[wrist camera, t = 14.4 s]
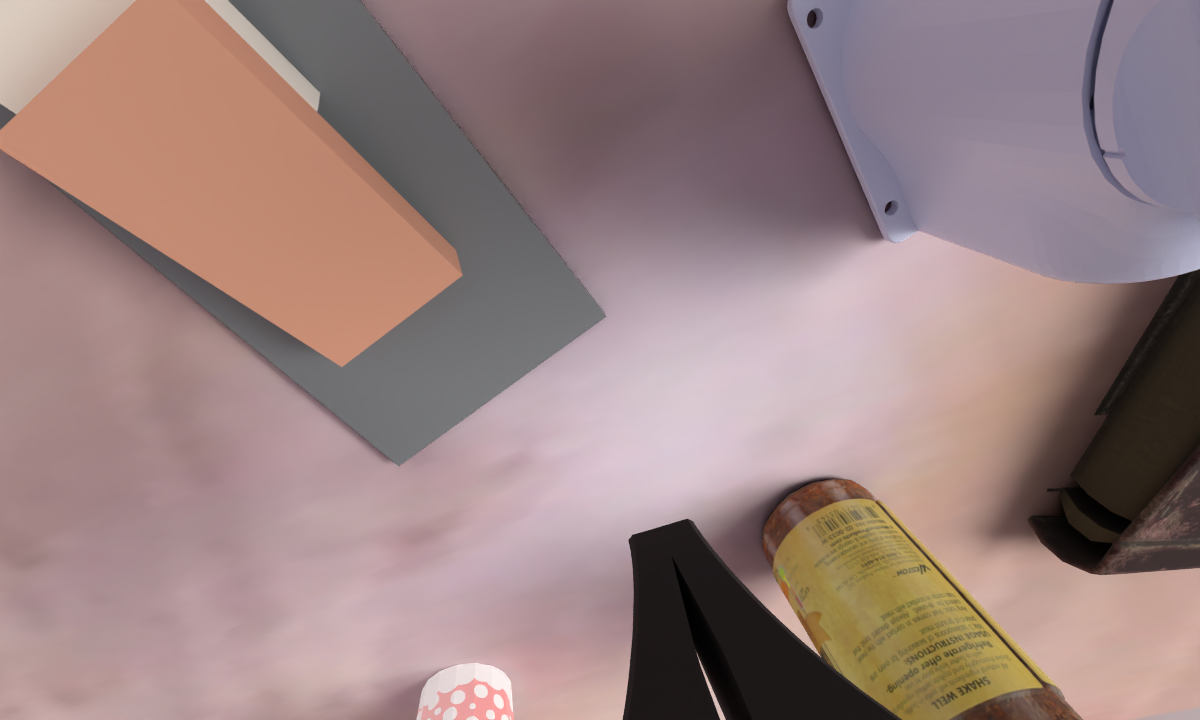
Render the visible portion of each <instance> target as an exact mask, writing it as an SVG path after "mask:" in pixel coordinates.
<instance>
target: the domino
mask: <svg viewBox="0 0 1200 720" xmlns="http://www.w3.org/2000/svg"><path fill="white" fill-rule="evenodd" d="M135 1H136V0H0V104H2V105H3V106H5V107H6V108H8V109H9V110H11V111H12V112H14V113H15V114H18V113H19V112H20V111H21V110H22V109H23V108H24V107H25V106H26V105H27V104H28V103H29V102H30V101H31V100H32V99H33V98H34V97H35V96H37V95H38V94H39V93H40V92H41V91H42V90H43V89H44V88H45V87H46V86H47V85H48V84H49V83H50V82H51V81H52V80H53V79H54V78H55V77H56V76H57V75H58V74H60V73H61V72H62V71H63V70H64V69H65V68H66V67H67V66H68V65H69V64H70V63H71V62H72V61H73V60H74V59H75V58H76V57H77V56H78V55H79V54H80V53H81V52H83V51H84V50H85V49H86V48H87V47H88V46H89V45H90V44H91V43H92V42H93V41H94V40H95V39H96V38H97V37H98V36H99V35H100V34H101V33H102V32H103V31H104V30H105V29H107V28H108V27H109V26H110V25H111V24H112V23H113V22H114V21H115V20H116V19H117V18H118V17H119V16H120V15H121V14H122V13H123V12H124V11H125V10H126V9H127V8H128V7H130V6H131V5H132V4H133V3H134V2H135ZM205 1H206V2H207V3H208V4H209V5H210V6H211V7H212V8H213V9H214V10H215V11H216V12H217V13H218V14H219V15H220V16H221V17H222V18H223V19H224V20H225V21H226V22H227V23H228V24H229V25H230V26H231V27H232V28H233V29H234V30H235V31H236V32H237V33H238V34H239V35H240V36H241V37H242V38H243V39H244V40H245V41H246V42H247V43H248V44H249V45H250V46H251V47H252V48H253V49H254V50H255V51H256V52H257V53H258V54H259V55H260V56H261V57H262V58H263V59H264V60H265V61H266V62H267V63H268V64H269V65H270V66H271V67H272V68H273V69H274V70H275V71H276V72H277V73H278V74H279V75H280V76H281V77H282V78H283V79H284V80H285V81H286V82H287V83H288V84H289V85H290V86H291V87H292V88H293V89H294V90H295V91H296V92H297V93H298V94H299V95H300V96H301V97H302V98H303V99H304V100H305V101H306V102H307V103H308V104H309V105H310V106H311V107H312V108H313V109H314V110H315V111H316V112H317V111H318V105H319V98H320V92H319V91H318V90H317V89H316V88H315V87H314V86H313V85H312V84H311V83H310V82H309V81H308V80H307V79H306V78H305V77H304V76H303V75H302V74H301V73H300V72H299V71H298V70H297V69H296V68H295V67H294V66H293V65H292V64H291V63H290V62H289V61H288V60H287V59H286V58H285V57H284V56H283V55H282V54H281V53H280V52H279V51H278V50H277V49H276V48H275V47H274V46H273V45H272V44H271V43H270V42H269V41H268V40H267V39H266V38H265V37H264V36H263V35H262V34H261V33H260V32H259V31H258V30H257V29H256V28H255V27H254V26H253V25H252V24H251V23H250V22H249V21H248V20H247V19H246V18H245V17H244V16H243V15H242V14H241V13H240V12H239V11H238V10H237V9H236V8H235V7H234V6H233V5H232V4H231V3H230V2H229V1H228V0H205Z"/></svg>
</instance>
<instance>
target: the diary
mask: <svg viewBox="0 0 1200 720" xmlns="http://www.w3.org/2000/svg"><path fill="white" fill-rule="evenodd" d="M1105 414H1109V415H1108V417H1107V418H1106V420H1105V421H1104V423H1103V425H1102V426H1101V428H1100V429H1099V431H1098V433H1097V434H1096V436H1095V437H1094V439H1093V440H1092V442H1091V444H1090V445H1089V447H1088V448H1087V450H1086V452H1085V453H1084V455H1083V456H1082V458H1081V459H1080V461H1079V463H1078V464H1077V466H1076V467H1075V469H1074V470H1073V472H1072V474H1071V476H1072V477H1073V478H1074V479H1075V481H1076V482H1077V483H1078V484H1079V485H1080V486H1081V487H1072V488H1062V489H1047V491H1060V493H1059V496H1060V499H1061V502H1062V505H1063V508H1064V511H1065V514H1066V516H1031V517H1030V518H1029V519H1028V521H1029V523H1030V525H1031V526H1032V528H1033V530H1034V531H1035V533H1036V535H1037V536H1038V538H1039V539H1040V541H1041V543H1042V544H1043V545H1045V546H1046V547H1047V548H1048V549H1049V550H1050V551H1051V552H1052V553H1054V554H1055V555H1056V556H1057V557H1058V558H1059V559H1060V560H1062V561H1063V562H1065V563H1068V564H1070V565H1072V566H1074V567H1077V568H1079V569H1081V570H1084V571H1086V572H1088V573H1090V574H1098V575H1110V574H1126V573H1139V572H1152V571H1165V570H1179V569H1192V568H1200V269H1198V270H1195V271H1191V272H1188V273H1184V274H1181V275H1179V276H1178V278H1177V280H1176V281H1175V283H1174V285H1173V286H1172V288H1171V290H1170V291H1169V293H1168V294H1167V296H1166V298H1165V299H1164V301H1163V303H1162V304H1161V306H1160V308H1159V309H1158V311H1157V312H1156V314H1155V316H1154V317H1153V319H1152V321H1151V322H1150V324H1149V326H1148V327H1147V329H1146V331H1145V332H1144V334H1143V335H1142V337H1141V339H1140V340H1139V342H1138V344H1137V345H1136V347H1135V349H1134V350H1133V352H1132V353H1131V355H1130V357H1129V358H1128V360H1127V362H1126V363H1125V365H1124V367H1123V368H1122V370H1121V372H1120V373H1119V375H1118V376H1117V378H1116V380H1115V381H1114V383H1113V385H1112V386H1111V388H1110V390H1109V391H1108V393H1107V394H1106V396H1105V398H1104V399H1103V401H1102V403H1101V404H1100V406H1099V408H1098V409H1097V411H1096V412H1095V414H1094V415H1105Z"/></svg>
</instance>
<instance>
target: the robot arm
mask: <svg viewBox="0 0 1200 720" xmlns="http://www.w3.org/2000/svg"><path fill="white" fill-rule="evenodd" d="M787 10H788V14H789V17H790V19H791V22H792V24H793V26H794V29H795V31H796V33H797V36H798V38H799V40H800V43H801V45H802V47H803V50H804V52H805V55H806V57H807V59H808V62H809V64H810V66H811V69H812V71H813V73H814V76H815V78H816V80H817V83H818V85H819V87H820V90H821V92H822V95H823V97H824V99H825V102H826V104H827V106H828V109H829V111H830V113H831V116H832V118H833V120H834V123H835V125H836V128H837V130H838V132H839V135H840V137H841V139H842V142H843V144H844V146H845V149H846V151H847V153H848V156H849V158H850V160H851V163H852V165H853V168H854V170H855V172H856V175H857V177H858V179H859V182H860V184H861V186H862V189H863V191H864V193H865V196H866V198H867V200H868V203H869V205H870V208H871V210H872V212H873V215H874V217H875V219H876V222H877V224H878V226H879V229H880V231H881V233H882V236H883V237H884V239H885V240H888V241H890V242H893V243H900V242H902V241H904V240H905V239H907V238H908V237H910V236H911V235H913V234H914V233H916V232H917V231H921V232H924V233H927V234H930V235H932V236H935V237H938V238H941V239H943V240H946V241H949V242H952V243H954V244H957V245H960V246H963V247H965V248H968V249H971V250H974V251H976V252H979V253H982V254H985V255H987V256H990V257H993V258H996V259H998V260H1001V261H1004V262H1007V263H1009V264H1012V265H1015V266H1018V267H1020V268H1023V269H1026V270H1029V271H1031V272H1034V273H1037V274H1040V275H1042V276H1045V277H1049V278H1053V279H1057V280H1062V281H1069V282H1076V283H1092V284H1116V283H1134V282H1144V281H1151V280H1158V279H1163V278H1168V277H1173V276H1177V275H1181V274H1184V273H1188V272H1191V271H1195V270H1198V269H1200V0H788V3H787ZM811 10H814V12H815V13H816V16H817V20H816V23H815V25H814V26H813V28H810V27H809V26H808V25H807V16H808V13H809V12H810V11H811ZM890 201H891V204H892V205H891V208H890V209H889V210H888V211H887V212H885V206H886V205H887V203H888V202H890ZM628 541H629V545H630V549H631V556H632V564H633V581H634V609H633V636H632V648H631V659H630V670H629V679H628V687H627V695H626V702H625V709H624V715H623V720H720V718H719V716H718V713H717V710H716V707H715V705H714V702H713V699H712V697H711V694H710V691H709V688H708V686H707V683H706V680H705V677H704V675H703V672H702V669H701V666H700V663H699V660H698V657H699V659H700V661H701V663H702V666H703V668H704V670H705V673H706V675H707V677H708V680H709V682H710V684H711V686H712V689H713V691H714V693H715V696H716V698H717V700H718V703H719V705H720V707H721V709H722V712H723V714H724V716H725V719H726V720H902V719H901V718H899V717H898V716H897V715H895V714H894V713H892V712H891V711H890V710H888V709H887V708H885V707H884V706H883V705H881V704H880V703H879V702H877V701H876V700H874V699H873V698H872V697H870V696H869V695H867V694H866V693H865V692H863V691H862V690H861V689H859V688H858V687H857V686H856V685H854V684H853V683H852V682H851V681H849V680H848V679H847V678H846V677H844V676H843V675H842V674H840V673H839V672H838V671H837V670H835V669H834V668H833V667H832V666H831V665H829V664H828V663H827V662H826V661H825V660H823V659H822V658H821V657H820V656H819V655H817V654H816V653H815V652H814V651H813V650H811V649H810V648H809V647H808V646H807V645H806V644H805V643H804V642H802V641H801V640H800V639H799V638H798V637H797V636H796V635H795V634H793V633H792V632H791V631H790V630H789V629H788V628H787V627H786V626H785V625H784V624H783V623H782V622H781V621H780V620H779V619H777V618H776V617H775V616H774V615H773V614H772V613H771V612H770V611H769V610H768V609H767V608H766V607H765V606H764V605H763V604H762V603H761V602H760V601H759V600H758V599H757V598H756V597H755V596H754V595H753V594H752V593H751V592H750V590H749V589H748V588H747V587H746V586H745V585H744V584H743V583H742V582H741V581H740V580H739V579H738V578H737V577H736V576H735V574H734V573H733V572H732V571H731V570H730V569H729V568H728V567H727V565H726V564H725V563H724V562H723V561H722V560H721V558H720V557H719V556H718V555H717V554H716V552H715V551H714V550H713V549H712V547H711V546H710V545H709V544H708V542H707V541H706V540H705V538H704V537H703V536H702V534H701V533H700V531H699V530H698V529H697V527H696V526H695V524H694V522H693V521H691V520H689V519H685V520H682V521H678V522H675V523H672V524H668V525H665V526H661V527H658V528H655V529H651V530H648V531H645V532H641V533H638V534H634V535H632V536H631V538H630V539H629V540H628ZM696 652H697V653H696ZM697 654H698V657H697Z"/></svg>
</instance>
